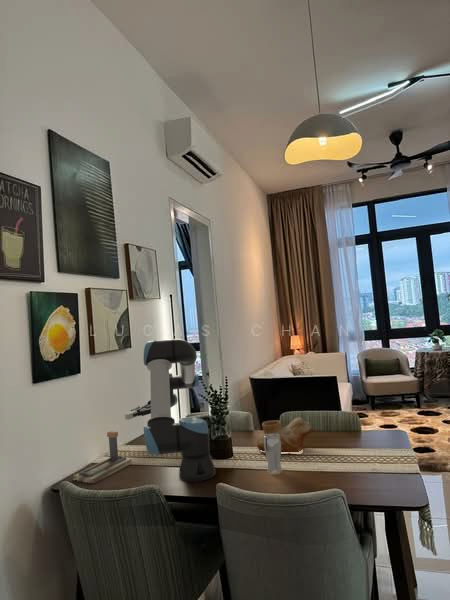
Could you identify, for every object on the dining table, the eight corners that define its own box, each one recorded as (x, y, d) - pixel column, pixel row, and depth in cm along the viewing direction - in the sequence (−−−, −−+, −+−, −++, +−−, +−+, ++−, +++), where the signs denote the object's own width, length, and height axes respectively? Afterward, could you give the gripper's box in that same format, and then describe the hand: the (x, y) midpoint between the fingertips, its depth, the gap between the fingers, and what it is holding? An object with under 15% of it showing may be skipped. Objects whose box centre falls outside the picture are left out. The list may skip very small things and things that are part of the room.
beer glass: (282, 475, 169) (279, 438, 170) (265, 475, 171) (262, 438, 171) (283, 469, 176) (281, 433, 176) (267, 469, 177) (264, 433, 178)
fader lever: (120, 460, 196) (118, 431, 196) (116, 462, 194) (114, 433, 194) (112, 459, 198) (110, 431, 198) (108, 461, 196) (106, 432, 196)
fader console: (131, 463, 197) (131, 456, 197) (93, 483, 176) (93, 475, 176) (112, 460, 203) (112, 454, 203) (73, 480, 182) (72, 472, 182)
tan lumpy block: (314, 455, 190) (311, 422, 190) (256, 456, 194) (253, 423, 194) (313, 445, 203) (310, 414, 204) (258, 446, 208) (256, 415, 208)
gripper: (167, 413, 223) (138, 425, 202) (146, 411, 229) (116, 423, 208) (166, 398, 223) (137, 409, 202) (145, 398, 229) (115, 408, 209)
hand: (126, 416), depth 205 cm, fingers closed
